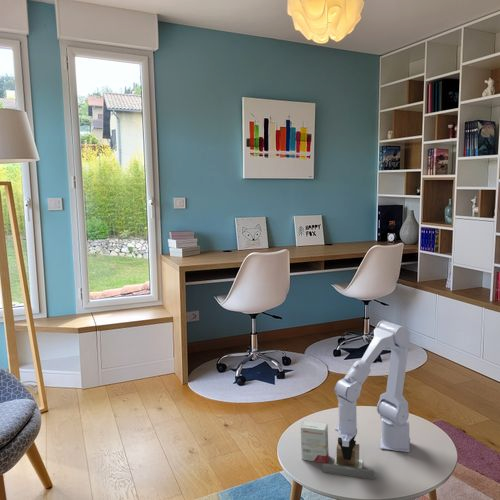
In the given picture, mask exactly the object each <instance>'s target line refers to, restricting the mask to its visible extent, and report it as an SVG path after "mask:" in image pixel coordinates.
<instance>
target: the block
mask: <svg viewBox="0 0 500 500" xmlns="http://www.w3.org/2000/svg"><path fill="white" fill-rule="evenodd" d="M336 457H337V459H336V464H341V465H347V466H353V467H358V466H359V460H360V444H359V443H356V444H355V446H354V448H353V450H352V456H351V460H345V459H344V457H343V453H342V449H341V447H340V445H339V444H338V443H337V444H336Z"/></svg>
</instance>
